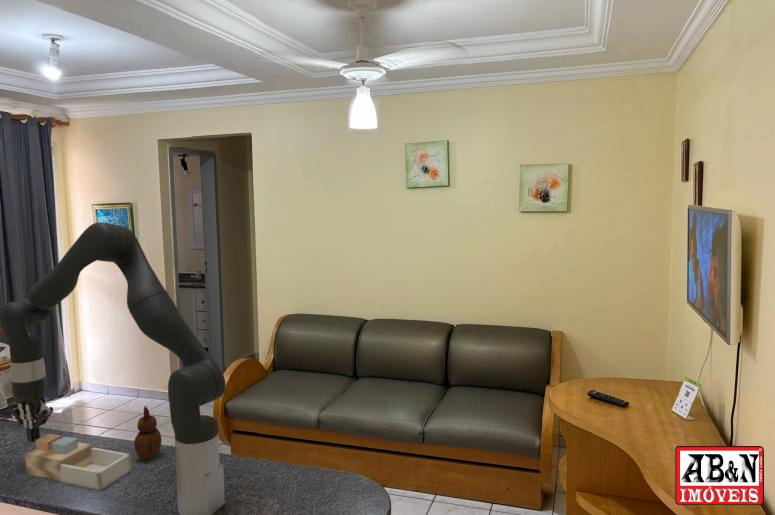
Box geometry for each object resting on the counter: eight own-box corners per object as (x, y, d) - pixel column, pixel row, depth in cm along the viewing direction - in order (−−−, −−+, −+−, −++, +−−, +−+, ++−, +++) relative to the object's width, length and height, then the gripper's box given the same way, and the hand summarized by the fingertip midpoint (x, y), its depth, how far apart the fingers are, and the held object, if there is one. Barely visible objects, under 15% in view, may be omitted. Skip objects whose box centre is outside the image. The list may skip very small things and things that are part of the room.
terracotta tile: (61, 444, 144) (60, 435, 143) (48, 451, 140) (47, 442, 140) (49, 442, 145) (49, 433, 145) (36, 449, 141) (35, 440, 141)
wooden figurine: (150, 464, 145) (147, 409, 143) (131, 461, 146) (128, 407, 144) (166, 452, 151) (163, 399, 150) (147, 450, 153) (144, 398, 151)
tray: (131, 470, 141) (130, 454, 141) (100, 490, 132) (99, 473, 131) (94, 463, 145) (93, 447, 144) (61, 482, 135) (60, 465, 135)
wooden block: (92, 464, 144) (91, 444, 144) (63, 481, 136) (61, 460, 135) (57, 457, 148) (56, 438, 147) (26, 473, 140) (25, 453, 139)
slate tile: (78, 447, 142) (77, 438, 142) (64, 454, 138) (64, 445, 138) (66, 445, 143) (65, 436, 143) (52, 452, 139) (51, 443, 139)
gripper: (61, 374, 143) (65, 438, 145) (22, 369, 147) (27, 431, 149) (34, 383, 136) (40, 450, 138) (-5, 378, 140) (0, 443, 142)
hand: (33, 440), depth 144 cm, fingers closed
